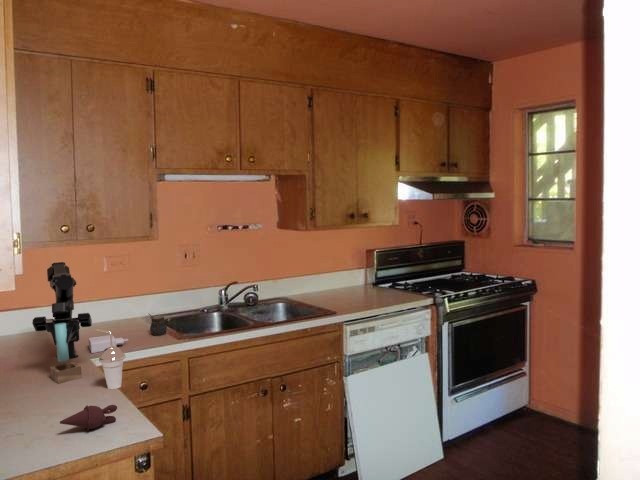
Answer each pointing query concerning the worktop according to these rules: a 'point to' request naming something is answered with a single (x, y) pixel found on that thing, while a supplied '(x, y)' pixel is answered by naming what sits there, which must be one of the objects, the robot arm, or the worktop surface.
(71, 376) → the socket block
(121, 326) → the worktop surface
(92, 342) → the lavender nozzle bottle
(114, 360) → the cup with straw
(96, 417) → the icecream
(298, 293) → the worktop surface
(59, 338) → the peg
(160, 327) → the mate gourd
